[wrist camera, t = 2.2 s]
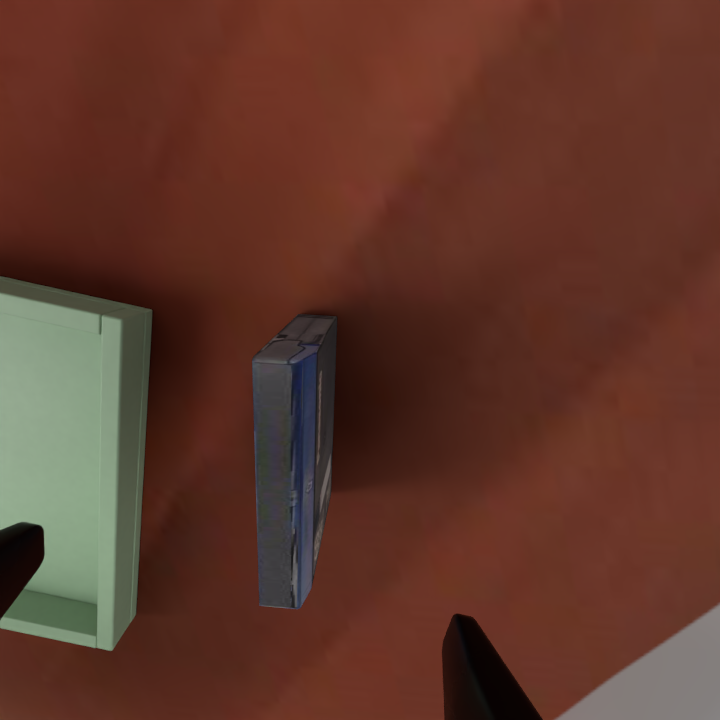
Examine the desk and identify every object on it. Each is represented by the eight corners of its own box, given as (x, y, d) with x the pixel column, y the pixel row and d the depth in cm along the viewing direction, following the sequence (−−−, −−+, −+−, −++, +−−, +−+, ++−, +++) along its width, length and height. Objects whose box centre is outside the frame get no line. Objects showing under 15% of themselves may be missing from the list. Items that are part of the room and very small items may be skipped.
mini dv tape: (330, 493, 18) (307, 611, 13) (298, 491, 18) (259, 607, 13) (337, 315, 16) (311, 361, 10) (299, 313, 16) (251, 357, 10)
